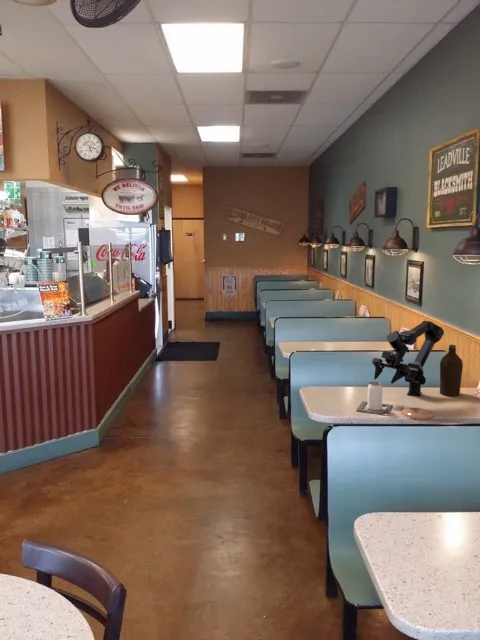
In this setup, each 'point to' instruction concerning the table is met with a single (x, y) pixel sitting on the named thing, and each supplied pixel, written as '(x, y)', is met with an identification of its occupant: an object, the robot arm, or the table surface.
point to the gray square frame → (374, 411)
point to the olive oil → (450, 373)
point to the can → (374, 396)
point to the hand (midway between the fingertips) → (383, 381)
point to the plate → (417, 413)
